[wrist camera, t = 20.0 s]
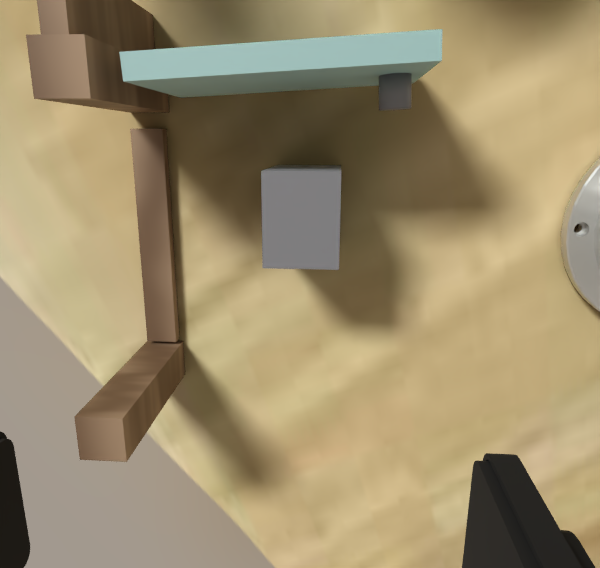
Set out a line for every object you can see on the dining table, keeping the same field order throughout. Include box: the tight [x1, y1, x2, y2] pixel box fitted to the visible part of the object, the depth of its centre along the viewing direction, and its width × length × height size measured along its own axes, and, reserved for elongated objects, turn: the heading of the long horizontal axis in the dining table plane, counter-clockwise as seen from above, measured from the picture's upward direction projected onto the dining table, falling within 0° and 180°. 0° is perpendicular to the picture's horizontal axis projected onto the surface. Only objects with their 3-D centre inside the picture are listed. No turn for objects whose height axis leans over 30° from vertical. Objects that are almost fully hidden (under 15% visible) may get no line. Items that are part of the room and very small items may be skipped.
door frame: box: [26, 0, 185, 462], centre depth 29 cm, size 2×23×10 cm, turn 0°
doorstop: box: [261, 165, 341, 270], centre depth 29 cm, size 5×4×7 cm
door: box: [119, 29, 442, 111], centre depth 26 cm, size 3×14×8 cm, turn 93°
